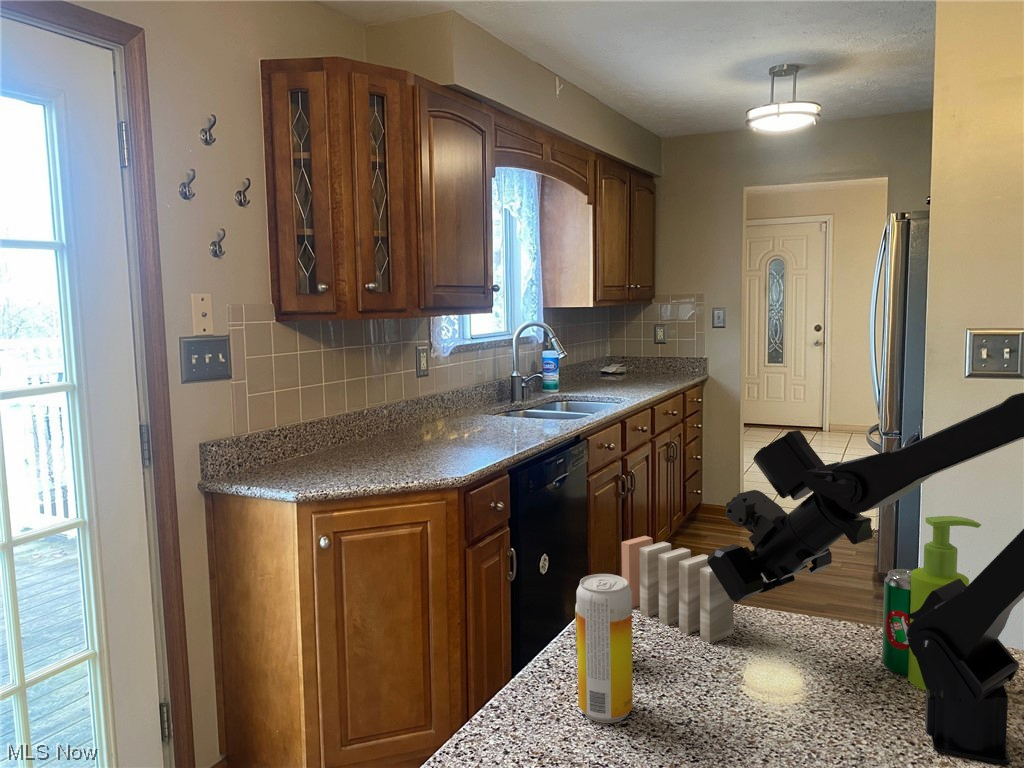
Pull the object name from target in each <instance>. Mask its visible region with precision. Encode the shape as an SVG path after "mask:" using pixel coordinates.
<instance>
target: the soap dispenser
mask: <svg viewBox="0 0 1024 768" xmlns="http://www.w3.org/2000/svg"><path fill="white" fill-rule="evenodd" d="M925 523H926V524H928V525H929V526H931V527H932V540H931V541H929V542H926V543H925V544H924V545H923V567H918V568H914V569H912V570H913V571H912V572H911V603H910V613H913V612H915V611H917V610H919V609H920V608H921V606H922V605H923V603H924V602H925V600H926V598H927V597H928V595H929V594H930V593H931V592H932V591H933V590H935V589H937V588H940V587H942V586H944V585H946V584H948V583H950V582H952V581H954V580H956V579H959V578H960V579H961V580H962V581H963V583H964V584H965V585H966V586H968V585H969V584H970V579H969V578H968V577H967V576H966V575H964V574H962V573H960V572H957V570H958V569H957V568H958V548H957V547H956V546H955V545H953V544H952V543H950V538H951V536H950V534H951V533H950V531H951V527H954V526H955V527H959V526H960V527H961V526H962V527H971V528H972V527H973V528H977V529H978V528H981V526H982V524H981V523H979V522H977V521H975V520H974V519H972V518H971V519H970V518H968V517H967V518H966V517H962V516H955V515H937V516H930V517H928V516H926V517H925ZM912 621H914V619H911V618H910V623H911V622H912ZM907 679H908V681H909V683H911V684H912V685H913V686H915V687H916V688H918V689H920V690H922V691H924V692H926V687H925V684H924V681H923V677H922V674H921V671H920V668H919V665H918V662H917V659H916V657H915V656H914V654H913V653H912V651H911V649H910V646H909V667H908V677H907Z"/></svg>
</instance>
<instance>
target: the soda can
mask: <svg viewBox="0 0 1024 768" xmlns="http://www.w3.org/2000/svg"><path fill="white" fill-rule="evenodd" d="M913 570H914V569H906V568H896V569H890V570H889V571H888V572H887V576H886V577H885V579H884V580H883V581H884V582H883V612H882V613H883V614H882V615H883V616H882V643H881V644H882V645H881V646H882V649H881V650H882V651H881V652H882V653H881V654H882V655H881V662H882V664H883V665H884V667H885V668H886V669H887V670H888V671H889V672H891V673H894V674H895V675H899V676H902V677H906V678H908V667H909V643H908V638H907V636H906V632H907V628H908V626H909V625H910V618H909V617H908V614H910V603H911V572H912V571H913Z"/></svg>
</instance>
